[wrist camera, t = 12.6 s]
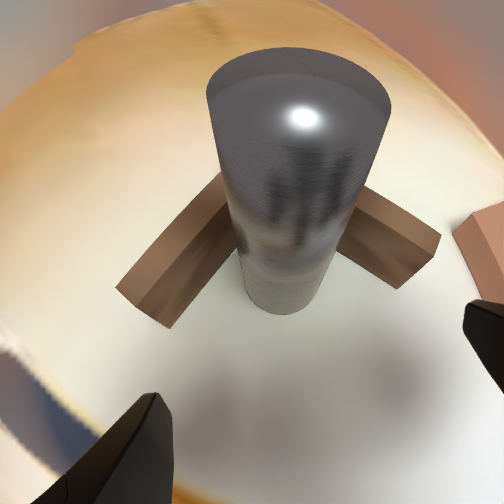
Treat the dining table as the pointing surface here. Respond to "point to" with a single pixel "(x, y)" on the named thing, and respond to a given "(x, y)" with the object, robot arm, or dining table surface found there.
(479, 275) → the sleeve block
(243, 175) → the steel axle
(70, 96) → the dining table surface
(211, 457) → the dining table surface
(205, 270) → the v block
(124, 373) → the dining table surface
